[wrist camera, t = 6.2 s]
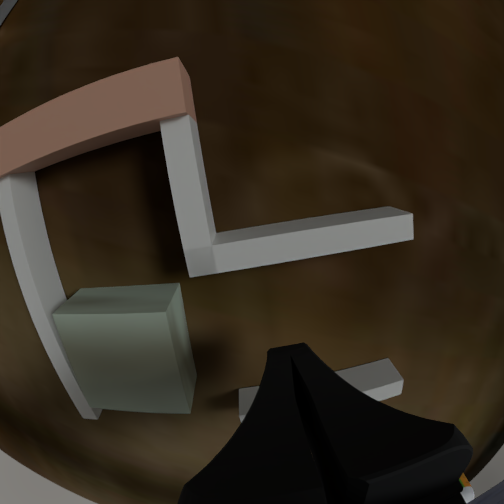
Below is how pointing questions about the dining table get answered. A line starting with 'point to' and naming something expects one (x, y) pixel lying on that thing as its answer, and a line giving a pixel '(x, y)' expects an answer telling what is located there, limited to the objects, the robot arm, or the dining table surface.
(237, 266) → the channel
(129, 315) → the block
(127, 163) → the dining table surface
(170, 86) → the block
